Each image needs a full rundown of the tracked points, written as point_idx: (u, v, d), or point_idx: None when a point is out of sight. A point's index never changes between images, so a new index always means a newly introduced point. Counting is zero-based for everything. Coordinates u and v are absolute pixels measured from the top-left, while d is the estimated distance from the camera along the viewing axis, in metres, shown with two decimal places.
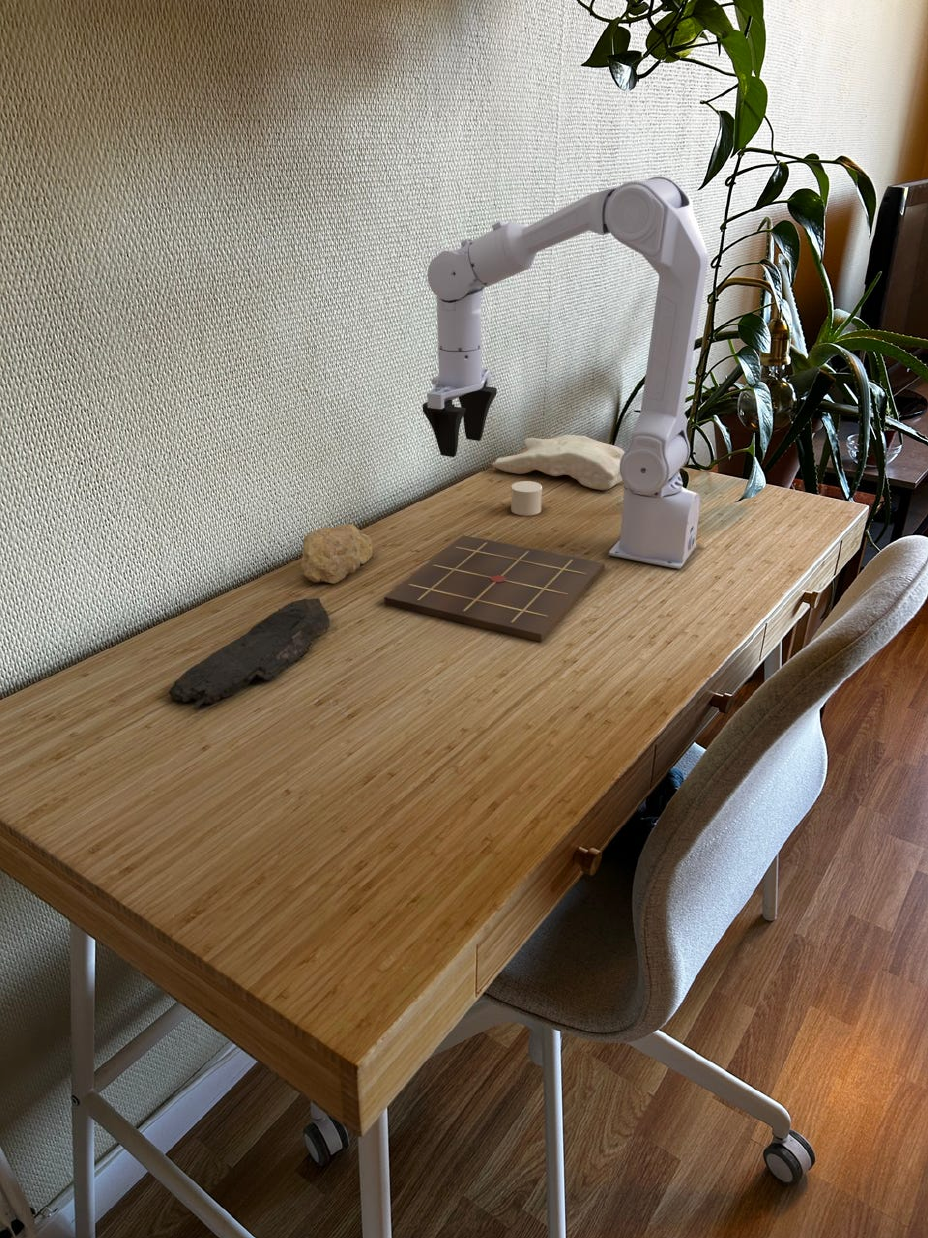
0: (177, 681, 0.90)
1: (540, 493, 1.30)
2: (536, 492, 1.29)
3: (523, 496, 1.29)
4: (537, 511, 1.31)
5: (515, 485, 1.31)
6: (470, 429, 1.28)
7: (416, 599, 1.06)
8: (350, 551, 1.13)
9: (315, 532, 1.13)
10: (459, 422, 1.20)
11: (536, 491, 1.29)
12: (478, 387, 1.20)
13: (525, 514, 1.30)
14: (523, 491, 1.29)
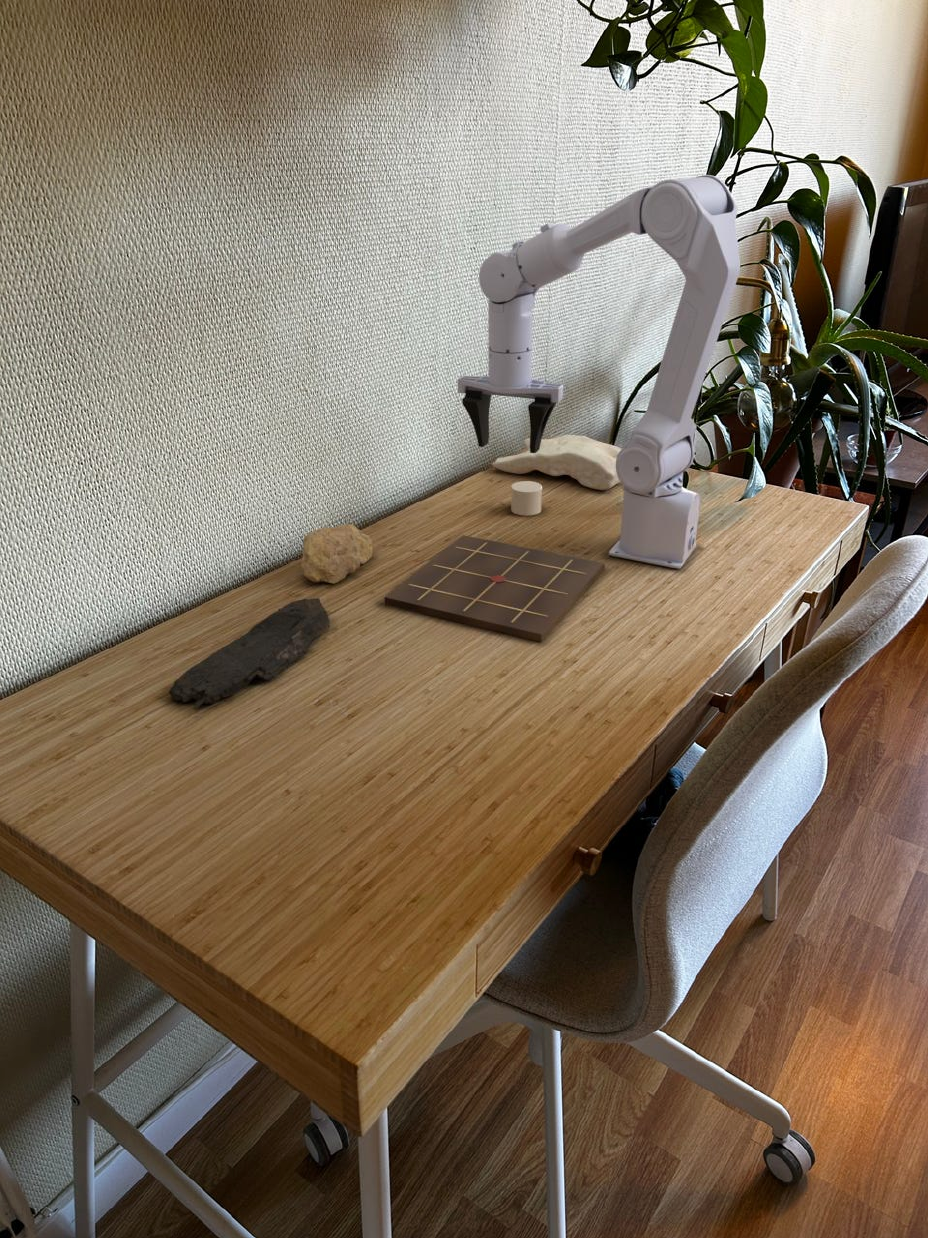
0: (177, 681, 0.90)
1: (540, 493, 1.30)
2: (536, 492, 1.29)
3: (523, 496, 1.29)
4: (537, 511, 1.31)
5: (515, 485, 1.31)
6: None
7: (416, 599, 1.06)
8: (350, 551, 1.13)
9: (315, 532, 1.13)
10: (475, 414, 1.25)
11: (536, 491, 1.29)
12: (497, 390, 1.21)
13: (525, 514, 1.30)
14: (523, 491, 1.29)
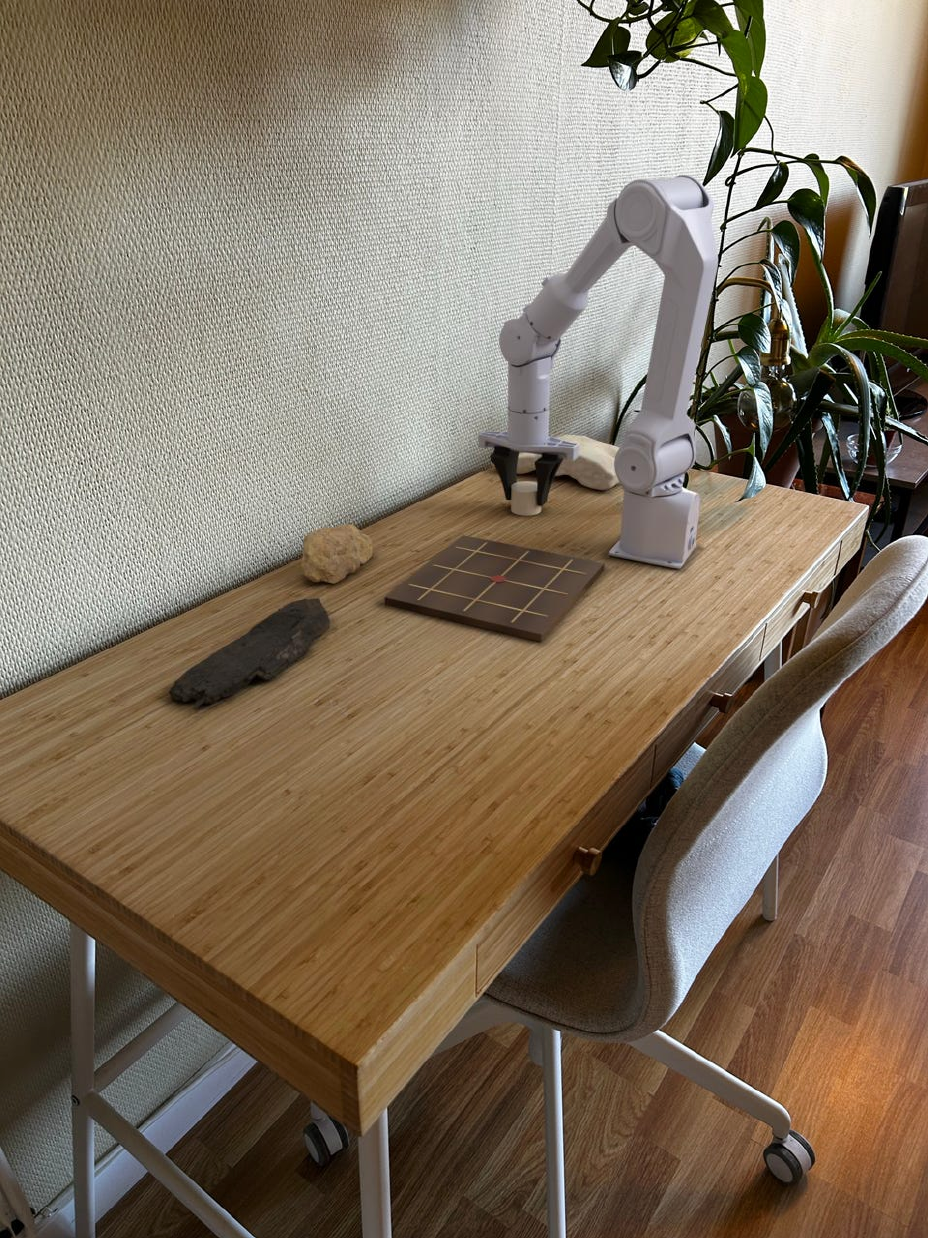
0: (177, 681, 0.90)
1: None
2: (536, 492, 1.29)
3: (523, 496, 1.29)
4: (537, 511, 1.31)
5: (515, 485, 1.31)
6: None
7: (416, 599, 1.06)
8: (350, 551, 1.13)
9: (315, 532, 1.13)
10: (502, 469, 1.29)
11: (536, 491, 1.29)
12: (515, 447, 1.25)
13: (525, 514, 1.30)
14: (523, 491, 1.29)
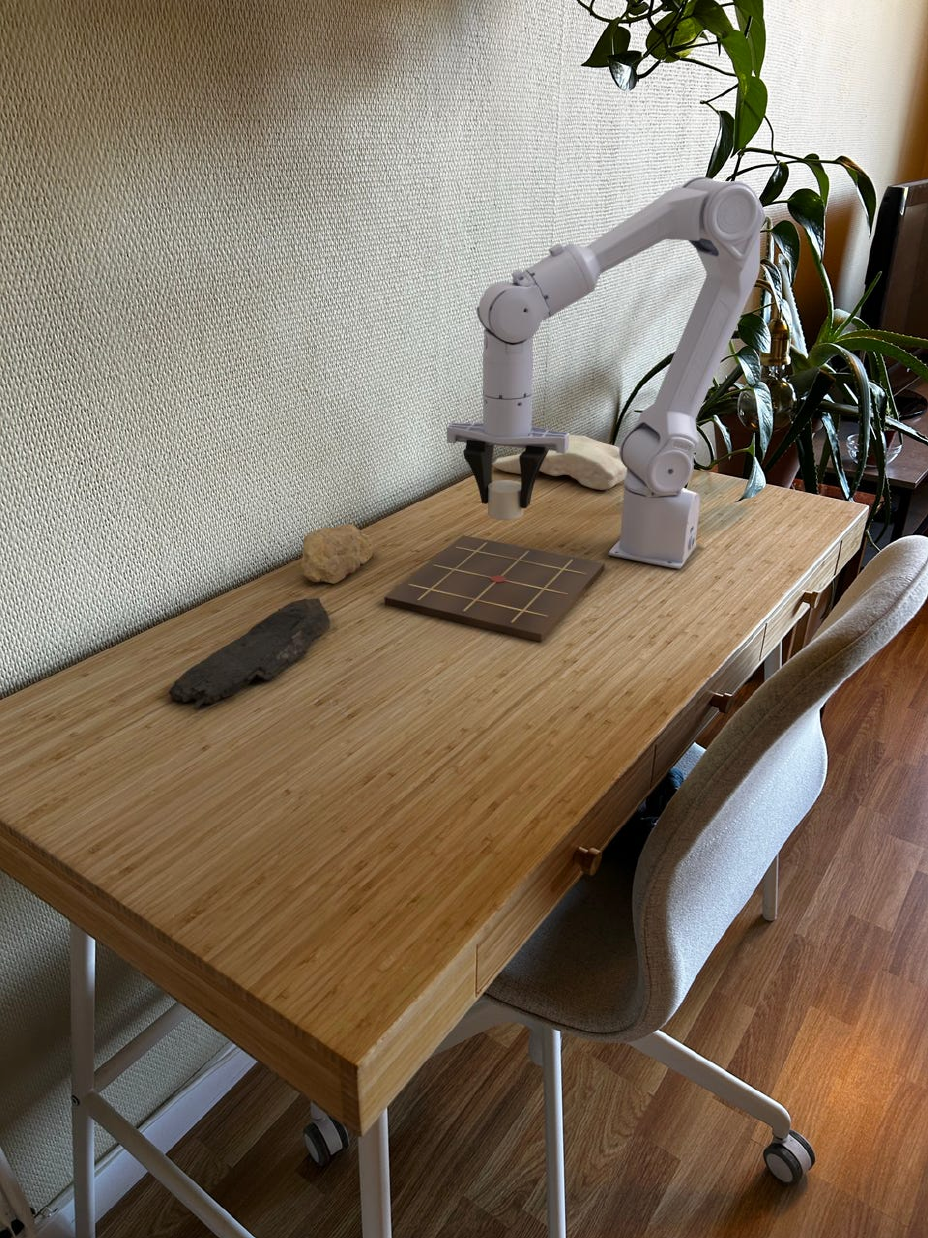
0: (177, 681, 0.90)
1: None
2: (519, 492, 1.10)
3: (504, 498, 1.10)
4: (520, 514, 1.12)
5: (492, 485, 1.11)
6: None
7: (416, 599, 1.06)
8: (350, 551, 1.13)
9: (315, 532, 1.13)
10: (478, 467, 1.09)
11: (519, 491, 1.10)
12: (495, 440, 1.06)
13: (507, 519, 1.11)
14: (504, 492, 1.09)
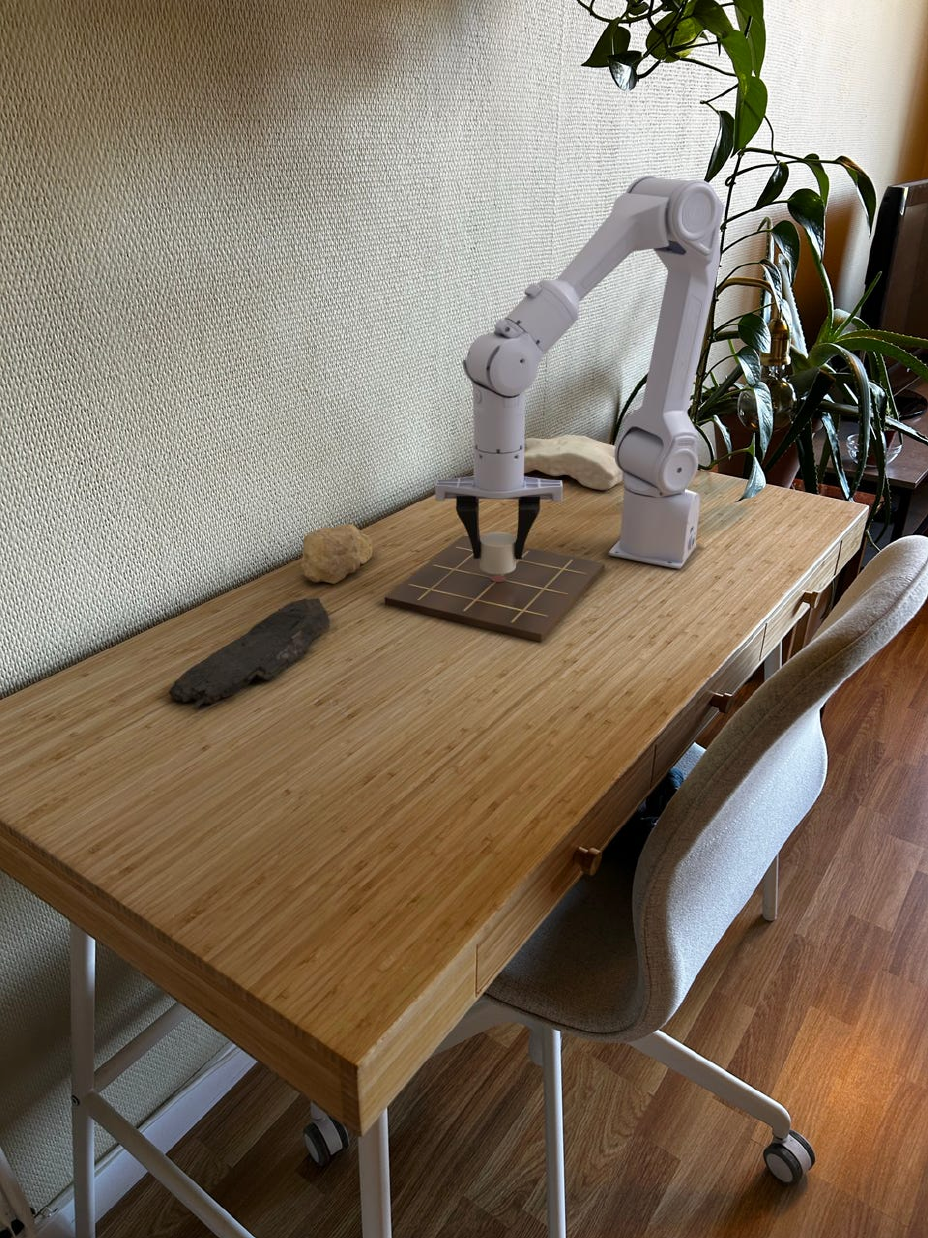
0: (177, 681, 0.90)
1: None
2: (514, 544, 1.07)
3: (501, 552, 1.06)
4: (515, 566, 1.09)
5: (484, 539, 1.08)
6: None
7: (416, 599, 1.06)
8: (350, 551, 1.13)
9: (315, 532, 1.13)
10: (473, 524, 1.05)
11: (514, 543, 1.07)
12: (493, 495, 1.02)
13: (504, 572, 1.08)
14: (500, 546, 1.06)
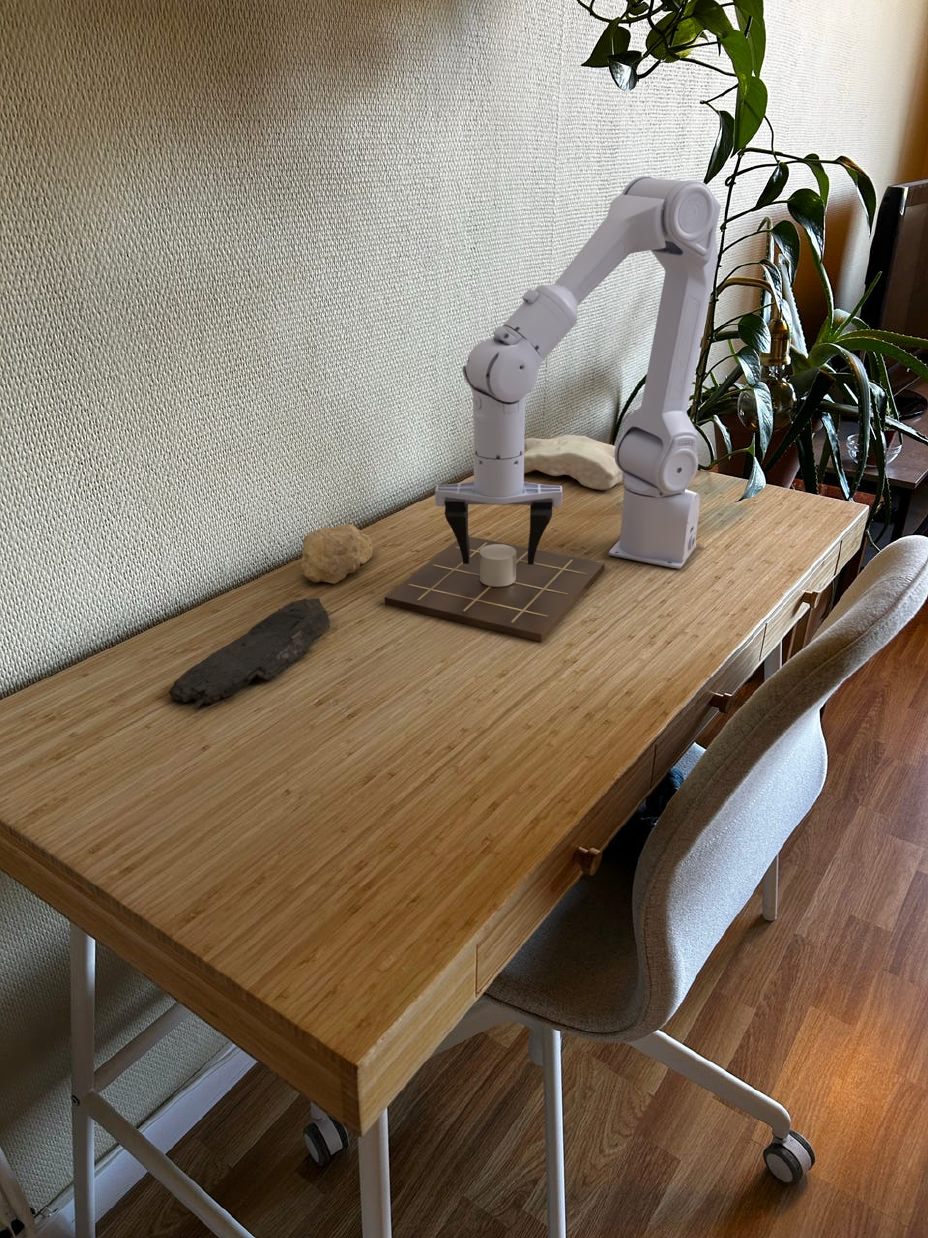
0: (177, 681, 0.90)
1: None
2: (514, 556, 1.08)
3: (501, 565, 1.07)
4: (514, 578, 1.09)
5: (484, 552, 1.08)
6: (528, 548, 1.09)
7: (416, 599, 1.06)
8: (350, 551, 1.13)
9: (315, 532, 1.13)
10: (461, 529, 1.05)
11: (514, 556, 1.08)
12: (493, 501, 1.02)
13: (503, 585, 1.08)
14: (500, 558, 1.07)
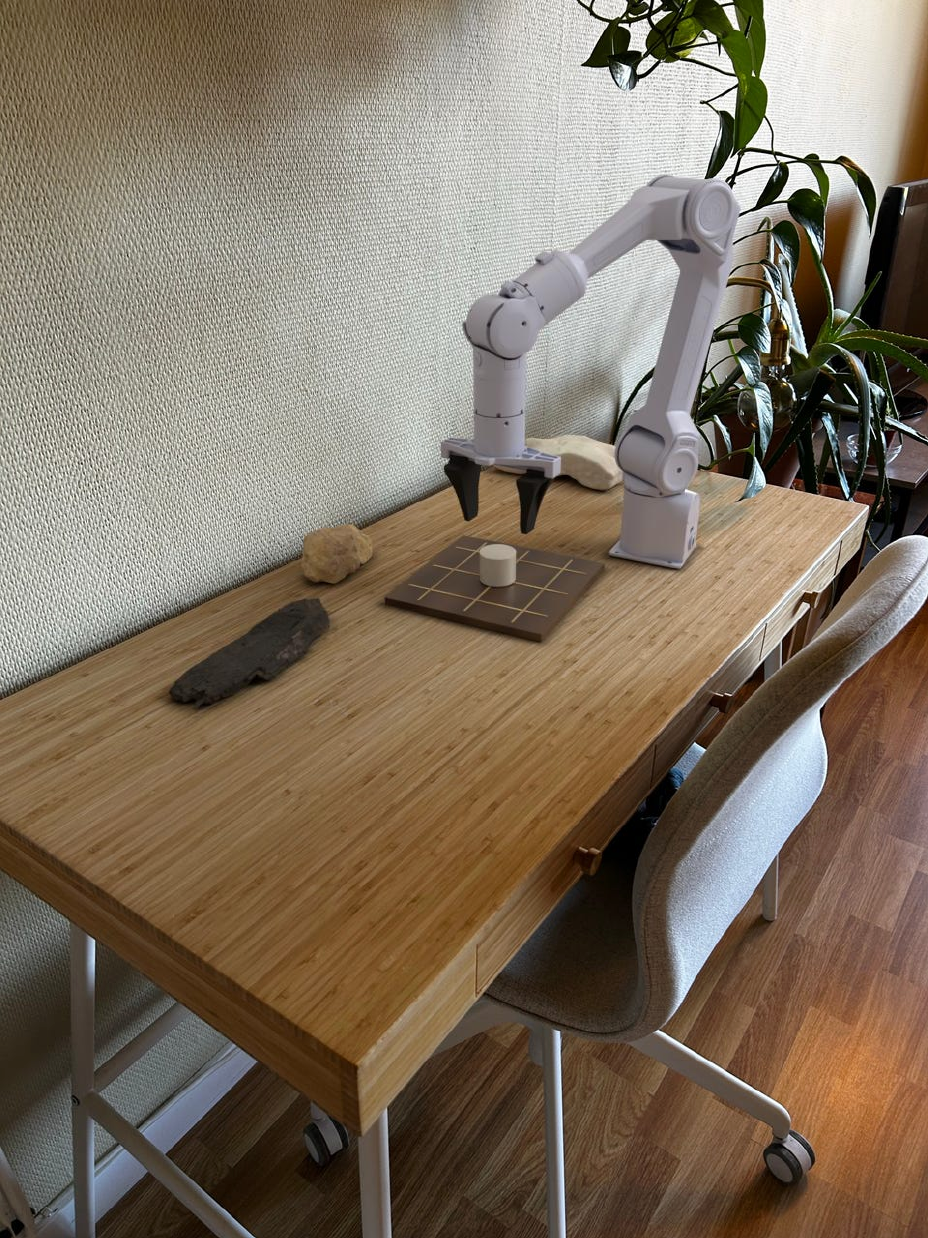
0: (177, 681, 0.90)
1: None
2: (514, 556, 1.08)
3: (501, 565, 1.07)
4: (514, 578, 1.09)
5: (484, 552, 1.08)
6: (471, 508, 1.08)
7: (416, 599, 1.06)
8: (350, 551, 1.13)
9: (315, 532, 1.13)
10: None
11: (514, 556, 1.08)
12: None
13: (503, 585, 1.08)
14: (500, 558, 1.07)
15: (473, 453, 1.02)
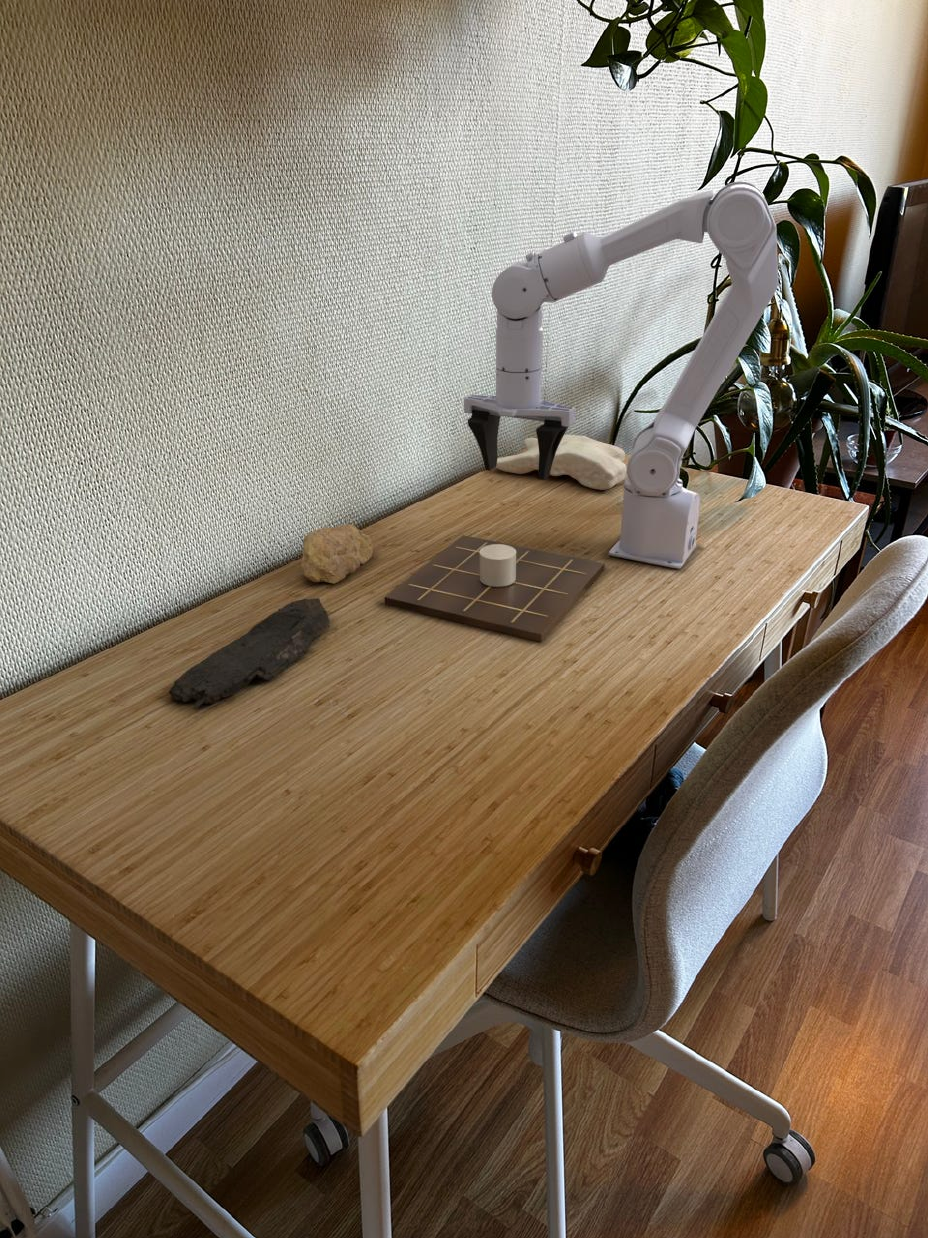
0: (177, 681, 0.90)
1: None
2: (514, 556, 1.08)
3: (501, 565, 1.07)
4: (514, 578, 1.09)
5: (484, 552, 1.08)
6: (491, 458, 1.19)
7: (416, 599, 1.06)
8: (350, 551, 1.13)
9: (315, 532, 1.13)
10: None
11: (514, 556, 1.08)
12: None
13: (503, 585, 1.08)
14: (500, 558, 1.07)
15: (496, 406, 1.13)
